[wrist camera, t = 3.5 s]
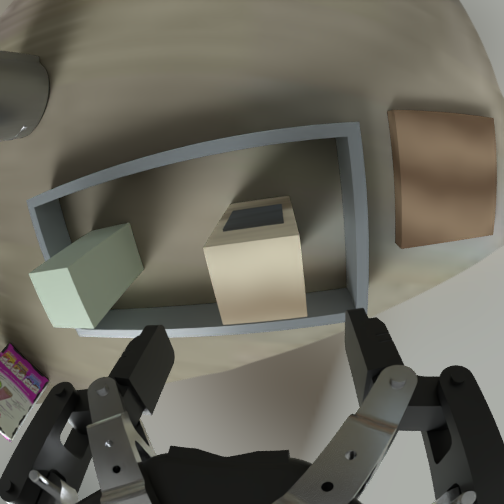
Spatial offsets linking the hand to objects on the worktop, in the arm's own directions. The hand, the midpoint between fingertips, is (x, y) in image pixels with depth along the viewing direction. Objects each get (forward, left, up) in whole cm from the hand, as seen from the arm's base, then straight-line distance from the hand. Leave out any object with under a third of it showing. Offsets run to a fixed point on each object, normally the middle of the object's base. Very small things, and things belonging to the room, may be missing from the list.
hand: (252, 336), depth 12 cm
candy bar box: (+20, -49, -14) cm, 55 cm away
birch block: (0, 0, -14) cm, 14 cm away
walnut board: (-3, +18, -14) cm, 23 cm away
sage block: (0, -15, -14) cm, 20 cm away
